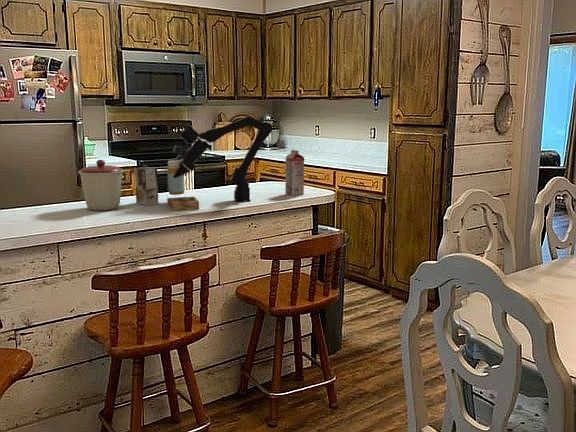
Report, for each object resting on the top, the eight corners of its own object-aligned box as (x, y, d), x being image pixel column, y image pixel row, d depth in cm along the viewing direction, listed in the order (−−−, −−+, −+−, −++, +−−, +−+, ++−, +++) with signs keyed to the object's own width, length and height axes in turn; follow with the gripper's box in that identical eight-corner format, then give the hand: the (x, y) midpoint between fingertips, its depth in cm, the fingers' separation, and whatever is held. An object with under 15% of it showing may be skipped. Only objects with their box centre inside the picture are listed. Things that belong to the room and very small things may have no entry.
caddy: (194, 204, 253) (194, 196, 252) (199, 209, 242) (198, 201, 241) (167, 205, 249) (167, 197, 248) (170, 210, 238) (170, 202, 237)
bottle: (180, 195, 252) (179, 161, 249) (166, 194, 254) (164, 161, 251) (186, 192, 259) (185, 160, 256) (172, 192, 260) (170, 160, 257)
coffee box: (159, 203, 253) (157, 168, 250) (146, 205, 249) (145, 169, 245) (147, 201, 259) (146, 166, 256) (135, 202, 255) (133, 167, 251)
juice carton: (292, 196, 276) (292, 151, 271) (285, 193, 282) (285, 149, 277) (303, 194, 279) (304, 150, 275) (296, 192, 285) (297, 149, 280)
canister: (94, 214, 229) (91, 163, 225) (73, 208, 241) (69, 159, 237) (133, 208, 242) (131, 159, 238) (111, 203, 254) (108, 156, 250)
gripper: (180, 137, 261) (157, 162, 260) (186, 140, 244) (161, 166, 243) (197, 153, 265) (175, 178, 264) (204, 158, 248) (180, 184, 247)
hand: (172, 176), depth 254 cm, fingers closed on bottle, 7 cm apart
